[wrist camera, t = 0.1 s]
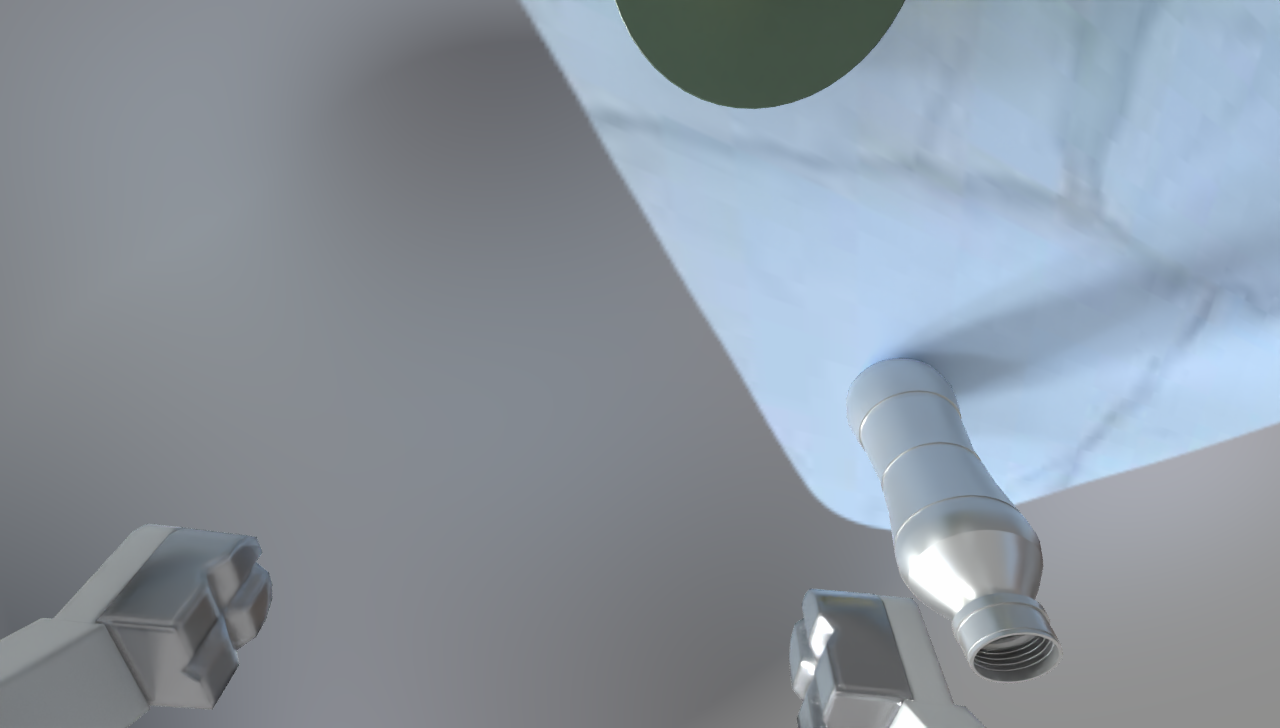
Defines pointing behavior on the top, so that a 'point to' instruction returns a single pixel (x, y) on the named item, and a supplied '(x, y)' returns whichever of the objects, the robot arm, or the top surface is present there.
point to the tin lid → (756, 44)
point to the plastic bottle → (953, 521)
